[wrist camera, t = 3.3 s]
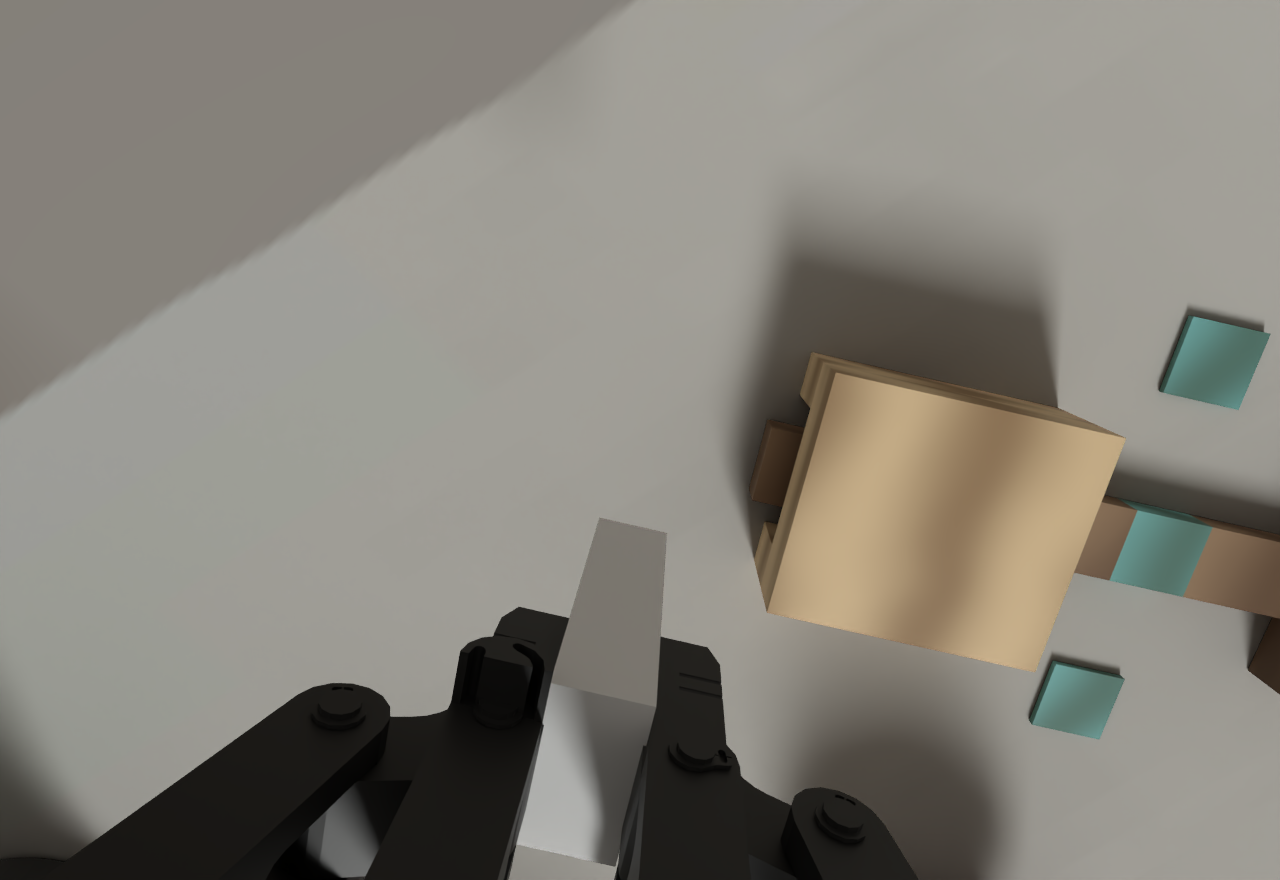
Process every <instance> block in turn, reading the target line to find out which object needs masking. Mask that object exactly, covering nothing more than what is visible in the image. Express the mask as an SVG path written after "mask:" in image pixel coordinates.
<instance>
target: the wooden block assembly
mask: <svg viewBox="0 0 1280 880" xmlns="http://www.w3.org/2000/svg"><path fill="white" fill-rule="evenodd" d="M1269 336H1270V334H1268V333H1264V332H1260V331H1255V330H1251V329H1247V328H1242V327H1238V326H1233V325H1229V324H1225V323H1220V322H1216V321H1212V320H1207V319H1203V318H1198V317H1194V316H1188V319H1187V321H1186V324H1185V326H1184V329H1183V331H1182V334H1181V336H1180V339H1179V342H1178V344H1177V347H1176V349H1175V352H1174V354H1173V357H1172V359H1171V362H1170V364H1169V367H1168V369H1167V372H1166V375H1165V377H1164V380H1163V382H1162V385H1161V387H1160V390H1159V391H1160V392H1163V393H1167V394H1171V395H1176V396H1180V397H1185V398H1189V399H1193V400H1198V401H1202V402H1207V403H1211V404H1215V405H1220V406H1224V407H1229V408H1233V409H1237V410H1239V407H1240V405H1241V403H1242V400H1243V398H1244V396H1245V393H1246V391H1247V388H1248V386H1249V384H1250V381H1251V379H1252V377H1253V374H1254V372H1255V370H1256V367H1257V365H1258V362H1259V360H1260V358H1261V355H1262V353H1263V351H1264V348H1265V346H1266V344H1267V341H1268V339H1269ZM804 430H805V428H804V427H799V426H795V425H791V424H786V423H782V422H777V421H773V420H768V419H767V423H766V427H765V430H764V434H763V438H762V442H761V445H760V449H759V453H758V456H757V460H756V464H755V468H754V471H753V475H752V479H751V483H750V486H749V491H750V494H751V498H752V500H753V501H758V502H762V503H767V504H771V505H776V506H780V507H783V504H784V501H785V497H786V493H787V490H788V486H789V483H790V479H791V476H792V472H793V469H794V465H795V461H796V458H797V454H798V451H799V447H800V444H801V440H802V437H803V433H804ZM1074 573H1079V574H1083V575H1088V576H1092V577H1097V578H1101V579H1106V580H1110V581H1115V582H1119V583H1123V584H1128V585H1132V586H1137V587H1141V588H1146V589H1150V590H1155V591H1159V592H1164V593H1168V594H1172V595H1177V596H1181V597H1186V598H1190V599H1195V600H1199V601H1204V602H1208V603H1213V604H1217V605H1222V606H1226V607H1230V608H1235V609H1239V610H1244V611H1248V612H1253V613H1257V614H1262V615H1266V616H1271V617H1272V619H1271V622H1270V624H1269V626H1268V628H1267V630H1266V632H1265V634H1264V637H1263V639H1262V641H1261V643H1260V645H1259V647H1258V649H1257V652H1256V654H1255V656H1254V658H1253V660H1252V662H1251V665H1250V667H1249V669H1248V671H1249V672H1251V673H1252V674H1253V675H1255V676H1256V677H1257V678H1259V679H1260V680H1261V681H1263V682H1264V683H1265V684H1267V685H1268V686H1269V687H1271V688H1272V689H1273V690H1275V691H1276V692H1277V693H1279V694H1280V535H1278V534H1274V533H1269V532H1265V531H1261V530H1256V529H1252V528H1247V527H1243V526H1238V525H1234V524H1229V523H1225V522H1221V521H1216V520H1212V519H1207V518H1203V517H1198V516H1194V515H1190V514H1185V513H1181V512H1176V511H1172V510H1167V509H1163V508H1159V507H1154V506H1150V505H1145V504H1141V503H1136V502H1132V501H1128V500H1123V499H1119V498H1114V497H1110V496H1105V495H1104V497H1103V499H1102V502H1101V504H1100V507H1099V509H1098V512H1097V515H1096V517H1095V520H1094V522H1093V525H1092V527H1091V530H1090V533H1089V535H1088V538H1087V540H1086V543H1085V545H1084V548H1083V551H1082V553H1081V556H1080V558H1079V561H1078V563H1077V566H1076V569H1075V571H1074ZM1124 680H1125V679H1124V678H1123V677H1122V676H1120V675H1116V674H1111V673H1107V672H1102V671H1098V670H1093V669H1089V668H1084V667H1080V666H1075V665H1071V664H1066V663H1062V662H1057V661H1052V664H1051V666H1050V669H1049V671H1048V674H1047V677H1046V679H1045V682H1044V684H1043V687H1042V689H1041V692H1040V694H1039V697H1038V699H1037V702H1036V704H1035V707H1034V710H1033V712H1032V715H1031V717H1030V720H1029V721H1030V722H1031V724H1032V725H1036V726H1041V727H1045V728H1050V729H1054V730H1059V731H1063V732H1068V733H1072V734H1077V735H1081V736H1086V737H1090V738H1095V739H1100V736H1101V734H1102V732H1103V729H1104V727H1105V725H1106V722H1107V720H1108V717H1109V715H1110V713H1111V710H1112V708H1113V706H1114V703H1115V701H1116V699H1117V696H1118V694H1119V691H1120V689H1121V687H1122V684H1123V682H1124Z"/></svg>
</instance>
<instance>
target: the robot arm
mask: <svg viewBox="0 0 1280 880" xmlns="http://www.w3.org/2000/svg"><path fill="white" fill-rule="evenodd" d="M666 537H667V533H664V532H660V531H656V530H651V529H647V528H642V527H638V526H634V525H629V524H625V523H620V522H616V521H612V520H607V519H603V518H599V521H598V524H597V528H596V531H595V534H594V538H593V541H592V544H591V548H590V551H589V555H588V558H587V561H586V565H585V568H584V571H583V575H582V578H581V581H580V585H579V588H578V591H577V595H576V598H575V601H574V605H573V608H572V611H571V615H570V618H566V617H562V616H557V615H553V614H548V613H544V612H540V611H535V610H531V609H526V608H522V607H518V608H516V609H515V610H513V611H511V612H510V613H508V614H507V615H505V616H503V617H502V618H501V620H500V622H499V624H498V626H497V628H496V630H495V632H494V636H493V637H484V638H480V639H477V640H475V641H472V642H470V643H468V644H467V645H466V646H465V647H464V648H463V649H462V650H461V651H460V656H459V661H458V667H457V673H456V678H455V684H454V689H453V695H452V700H451V704H450V706H449V708H448V709H447V710H445V711H443V712H440V713H436V714H432V715H428V716H417V717H390V706H389V704H388V703H387V702H386V700H385V699H384V697H383V696H382V695H380V694H378V693H377V692H375V691H373V690H372V689H370V688H367V687H363V686H359V685H355V684H346V683H331V684H326V685H321V686H316V687H312V688H310V689H308V690H306V691H304V692H302V693H300V694H298V695H297V696H295V697H294V698H293V699H291V700H290V701H288V702H287V703H286V704H284V705H283V706H281V707H280V708H279V709H277V710H276V711H274V712H273V713H272V714H270V715H269V716H267V717H266V718H265V719H263V720H262V721H261V722H259V723H258V724H256V725H255V726H254V727H252V728H251V729H249V730H248V731H247V732H245V733H244V734H242V735H241V736H240V737H238V738H237V739H235V740H234V741H233V742H231V743H230V744H228V745H227V746H226V747H224V748H223V749H222V750H220V751H219V752H217V753H216V754H215V755H213V756H212V757H210V758H209V759H208V760H206V761H205V762H203V763H202V764H201V765H199V766H198V767H196V768H195V769H194V770H192V771H191V772H190V773H188V774H187V775H185V776H184V777H183V778H181V779H180V780H178V781H177V782H176V783H174V784H173V785H171V786H170V787H169V788H167V789H166V790H164V791H163V792H162V793H160V794H159V795H158V796H156V797H155V798H153V799H152V800H151V801H149V802H148V803H146V804H145V805H144V806H142V807H141V808H139V809H138V810H137V811H135V812H134V813H132V814H131V815H130V816H128V817H127V818H126V819H124V820H123V821H121V822H120V823H119V824H117V825H116V826H114V827H113V828H112V829H110V830H109V831H107V832H106V833H105V834H103V835H102V836H100V837H99V838H98V839H96V840H95V841H93V842H92V843H91V844H89V845H88V846H87V847H85V848H84V849H82V850H81V851H80V852H78V853H77V854H75V855H74V856H73V857H71V858H70V859H68V860H67V861H66V862H61V861H56V860H49V859H39V858H14V859H4V860H0V880H508V879H509V875H510V871H511V866H512V862H513V857H514V853H515V848H516V844H517V845H522V846H526V847H531V848H535V849H539V850H544V851H548V852H553V853H557V854H562V855H566V856H570V857H575V858H579V859H584V860H588V861H593V862H597V863H601V864H606V865H610V866H616V862H617V858H618V854H619V861H618V867H617V871H616V875H615V879H614V880H918V878H917V877H916V875H915V873H914V872H913V870H912V869H911V867H910V865H909V864H908V862H907V861H906V859H905V857H904V856H903V854H902V852H901V851H900V849H899V848H898V846H897V844H896V843H895V841H894V840H893V838H892V836H891V835H890V833H889V831H888V830H887V828H886V827H885V825H884V824H883V823H882V821H881V820H880V819H879V818H878V817H877V816H876V814H875V813H874V812H873V811H872V810H871V809H869V808H868V807H867V806H865V805H864V804H863V803H861V802H860V801H858V800H857V799H855V798H853V797H851V796H849V795H846V794H845V793H842V792H840V791H836V790H831V789H826V788H821V787H820V788H810V789H805V790H803V791H801V792H800V793H798V794H797V795H795V797H794V800H793V803H792V805H789V804H787V803H785V802H782V801H780V800H778V799H776V798H774V797H772V796H770V795H768V794H766V793H764V792H762V791H760V790H758V789H757V788H755V787H754V786H752V785H751V784H750V783H748V782H747V781H746V780H744V779H743V778H742V777H741V773H740V766H739V763H738V761H737V758H736V755H735V754H734V753H733V752H732V751H731V749H730V748H729V747H728V746H727V745H726V735H725V723H724V710H723V699H722V685H721V673H720V664H719V663H718V662H717V660H716V659H715V657H714V656H713V654H712V653H711V652H710V650H709V649H708V647H703V646H699V645H694V644H690V643H686V642H681V641H677V640H672V639H668V638H664V637H661V620H662V604H663V587H664V571H665V554H666ZM619 850H620V852H619Z"/></svg>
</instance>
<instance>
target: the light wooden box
mask: <svg viewBox="0 0 1280 880" xmlns="http://www.w3.org/2000/svg"><path fill="white" fill-rule="evenodd" d="M800 396H801V397H802V398H803V399H804V401H805V402H806V403H807V405H808V406H809V407H810V412H809V415H808V419H807V422H806V426H805V430H804V433H803V437H802V440H801V444H800V447H799V451H798V454H797V458H796V461H795V465H794V469H793V472H792V476H791V479H790V483H789V486H788V490H787V493H786V497H785V501H784V504H783V508H782V511H781V515H780V518H779V522H778V524H774V523H769V522H764V526H763V529H762V533H761V536H760V540H759V544H758V547H757V551H756V555H755V558H754V561H755V565H756V569H757V574H758V578H759V582H760V586H761V590H762V594H763V598H764V602H765V606H766V611H767V613H771V614H775V615H780V616H784V617H789V618H793V619H798V620H802V621H807V622H811V623H816V624H820V625H825V626H829V627H834V628H838V629H842V630H847V631H851V632H856V633H860V634H865V635H869V636H874V637H878V638H883V639H887V640H892V641H896V642H901V643H905V644H910V645H914V646H919V647H923V648H928V649H932V650H937V651H941V652H946V653H950V654H955V655H959V656H964V657H968V658H973V659H977V660H982V661H986V662H991V663H995V664H1000V665H1004V666H1009V667H1013V668H1018V669H1022V670H1027V671H1031V672H1035V671H1036V669H1037V666H1038V664H1039V661H1040V658H1041V656H1042V653H1043V651H1044V648H1045V646H1046V643H1047V641H1048V638H1049V635H1050V633H1051V630H1052V628H1053V625H1054V623H1055V620H1056V617H1057V615H1058V612H1059V610H1060V607H1061V605H1062V602H1063V599H1064V597H1065V594H1066V592H1067V589H1068V587H1069V584H1070V581H1071V579H1072V576H1073V574H1074V571H1075V569H1076V566H1077V563H1078V561H1079V558H1080V556H1081V553H1082V551H1083V548H1084V545H1085V543H1086V540H1087V538H1088V535H1089V533H1090V530H1091V527H1092V525H1093V522H1094V520H1095V517H1096V515H1097V512H1098V509H1099V507H1100V504H1101V502H1102V499H1103V497H1104V494H1105V492H1106V489H1107V486H1108V484H1109V481H1110V479H1111V476H1112V474H1113V471H1114V468H1115V466H1116V463H1117V461H1118V458H1119V456H1120V453H1121V450H1122V448H1123V445H1124V443H1125V440H1126V438H1124V437H1122V436H1120V435H1118V434H1115V433H1113V432H1111V431H1109V430H1106V429H1104V428H1102V427H1100V426H1097V425H1095V424H1093V423H1091V422H1088V421H1086V420H1084V419H1082V418H1079V417H1077V416H1075V415H1073V414H1070V413H1068V412H1066V411H1064V410H1061V409H1059V408H1056V407H1052V406H1047V405H1043V404H1038V403H1034V402H1029V401H1025V400H1021V399H1016V398H1012V397H1007V396H1003V395H999V394H994V393H990V392H985V391H981V390H977V389H972V388H968V387H963V386H959V385H955V384H950V383H946V382H941V381H937V380H932V379H928V378H924V377H919V376H915V375H910V374H906V373H902V372H897V371H893V370H888V369H884V368H880V367H875V366H871V365H866V364H862V363H858V362H853V361H849V360H844V359H840V358H835V357H831V356H827V355H822V354H818V353H813V352H811V356H810V360H809V363H808V367H807V370H806V374H805V378H804V381H803V385H802V388H801V392H800Z"/></svg>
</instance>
